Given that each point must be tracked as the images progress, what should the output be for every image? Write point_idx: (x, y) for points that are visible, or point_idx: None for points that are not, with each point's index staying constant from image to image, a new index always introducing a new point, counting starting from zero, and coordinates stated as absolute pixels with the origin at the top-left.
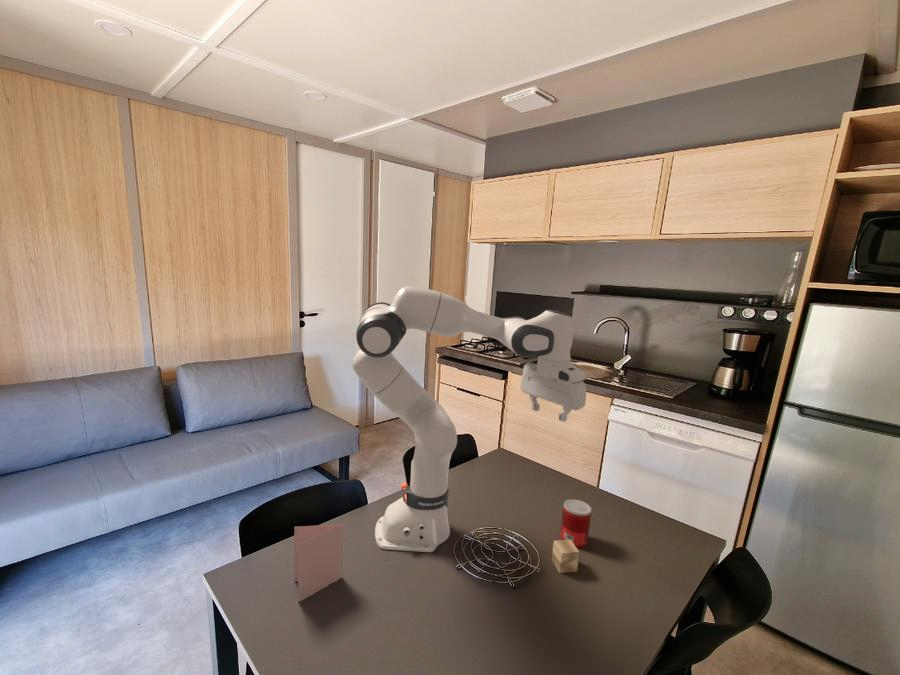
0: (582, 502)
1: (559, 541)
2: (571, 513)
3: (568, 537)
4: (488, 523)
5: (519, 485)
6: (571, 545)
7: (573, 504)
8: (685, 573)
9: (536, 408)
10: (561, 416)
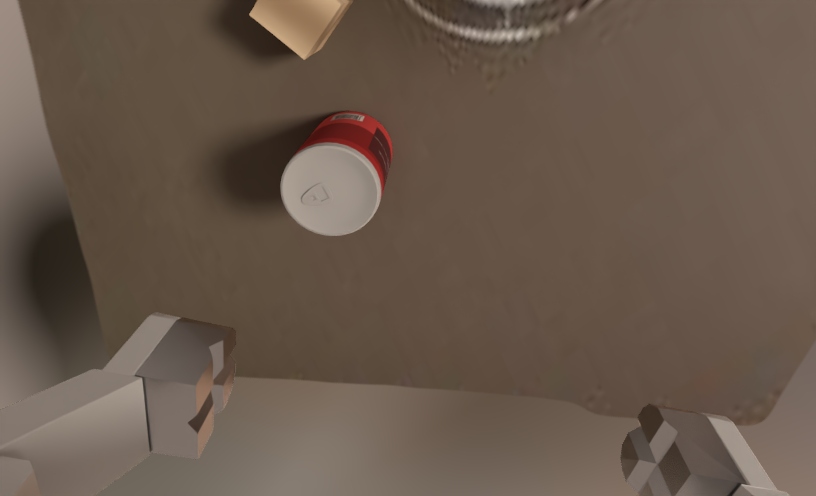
0: (331, 229)
1: (324, 16)
2: (329, 142)
3: (348, 115)
4: (621, 7)
5: (616, 287)
6: (284, 27)
7: (350, 198)
8: (98, 222)
9: (664, 444)
10: (153, 360)
